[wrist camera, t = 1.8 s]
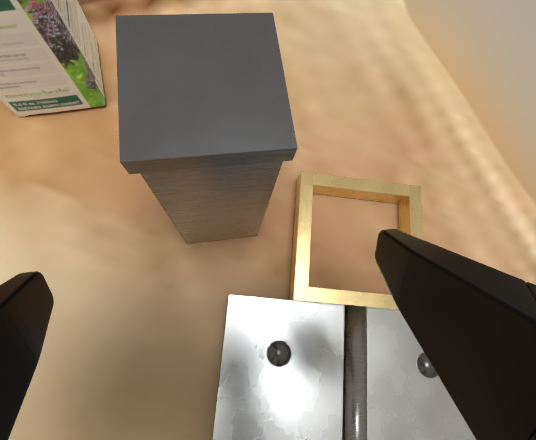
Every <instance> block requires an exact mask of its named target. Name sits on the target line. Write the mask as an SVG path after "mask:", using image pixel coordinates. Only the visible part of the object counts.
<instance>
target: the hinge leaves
mask: <svg viewBox="0 0 536 440" xmlns="http://www.w3.org/2000/svg"><path fill="white" fill-rule="evenodd" d="M313 194H321V195H329V196H338V197H346V198H355V199H363V200H372V201H380V202H388V203H397V204H398V221H399V231H402V232H404V233H407V234H409V235H412V236H414V237H417V238H419V239H422V240H423V227H422V207H421V187H420V186H413V185H405V184H397V183H389V182H381V181H373V180H365V179H357V178H348V177H340V176H332V175H324V174H316V173H308V172H301V173H300V175H299V177H298V179H297V186H296V202H295V218H294V233H293V249H292V265H291V281H290V296H289V300H282V299H271V298H260V297H249V296H238V295H229V300H228V309H227V317H226V326H225V335H224V344H223V353H222V361H221V370H220V379H219V388H218V397H217V405H216V414H215V423H214V432H213V440H342V418H343V362H344V306H346V309H345V368H344V427H343V440H476V439H475V437H474V435H473V434H472V432H471V430H470V429H469V427H468V425H467V423H466V422H465V420H464V418H463V417H462V415H461V413H460V412H459V410H458V408H457V407H456V405H455V403H454V402H453V400H452V398H451V397H450V395H449V393H448V392H447V390H446V388H445V387H444V385H443V383H442V381H441V380H440V378H439V376H438V375H437V373H436V371H435V370H434V368H433V366H432V365H431V363H430V361H429V360H428V358H427V356H426V355H425V353H424V351H423V350H422V348H421V346H420V345H419V343H418V341H417V340H416V338H415V336H414V334H413V333H412V331H411V329H410V328H409V326H408V324H407V323H406V321H405V319H404V318H403V316H402V314H401V313H400V311H399V309H398V307H397V306H396V304H395V302H394V300H393V297H392V295H388V294H377V293H366V292H356V291H345V290H335V289H324V288H314V287H308V279H309V259H310V238H311V217H312V197H313Z"/></svg>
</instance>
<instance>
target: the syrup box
mask: <svg viewBox="0 0 536 440" xmlns="http://www.w3.org/2000/svg"><path fill="white" fill-rule="evenodd" d="M0 101H1V102H2V103H3V104H4V105H6V106H7V107H8V108H9V109H10V110H11V111H12V112H13V113H14V114H15V115H17V116H19V117H24V116H29V115H33V114H40V113H52V112H60V111H68V110H76V109H84V108H91V107H98V106H104V105H105V96H104V90H103V83H102V76H101V69H100V61H99V53H98V45H97V40H96V38H95V35H94V33H93V31H92V29H91V27H90V25H89V23H88V21H87V19H86V17H85V15H84V13H83V11H82V9H81V7H80V5H79V3H78V1H77V0H0Z"/></svg>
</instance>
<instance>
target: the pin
mask: <svg viewBox="0 0 536 440" xmlns="http://www.w3.org/2000/svg"><path fill="white" fill-rule="evenodd" d="M116 44H117V77H118V109H119V141H120V163H121V164H122V165H123V167H124V168H125V169H126V171H127V172H128V173H129V174H138V173H140V174H141V175H142V177H143V178H144V180H145V181H146V183H147V184H148V186H149V187H150V189H151V190H152V192H153V193H154V195H155V196H156V198H157V199H158V201H159V202H160V204H161V205H162V207H163V208H164V210H165V211H166V213H167V214H168V216H169V217H170V219H171V220H172V222H173V223H174V225H175V226H176V228H177V229H178V231H179V232H180V234H181V235H182V237H183V238H184V240H185V242H186V243H187V244H193V243H201V242H210V241H218V240H227V239H235V238H244V237H252V236H257V234H258V231H259V228H260V226H261V223H262V220H263V217H264V214H265V211H266V208H267V205H268V203H269V200H270V197H271V194H272V191H273V188H274V185H275V182H276V179H277V177H278V174H279V171H280V168H281V165H282V162H283V161H291V160H293V158H294V155H295V153H296V150H297V143H296V137H295V132H294V126H293V121H292V115H291V110H290V104H289V99H288V93H287V88H286V82H285V77H284V71H283V66H282V60H281V55H280V49H279V44H278V38H277V33H276V27H275V22H274V16H273V13H237V14H183V15H130V16H116Z"/></svg>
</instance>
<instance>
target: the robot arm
mask: <svg viewBox="0 0 536 440" xmlns="http://www.w3.org/2000/svg"><path fill="white" fill-rule="evenodd" d="M375 259H376V262H377V264H378V267H379V269H380V271H381V273H382V275H383V278H384V280H385V282H386V284H387V286H388V289H389V291H390V293H391V295H392V297H393V300H394V302H395V304H396V306H397V307H398V309H399V311H400V313H401V314H402V316H403V318H404V319H405V321H406V323H407V324H408V326H409V328H410V329H411V331H412V333H413V334H414V336H415V338H416V340H417V341H418V343H419V345H420V346H421V348H422V350H423V351H424V353H425V355H426V356H427V358H428V360H429V361H430V363H431V365H432V366H433V368H434V370H435V371H436V373H437V375H438V376H439V378H440V380H441V381H442V383H443V385H444V387H445V388H446V390H447V392H448V393H449V395H450V397H451V398H452V400H453V402H454V403H455V405H456V407H457V408H458V410H459V412H460V413H461V415H462V417H463V418H464V420H465V422H466V423H467V425H468V427H469V429H470V430H471V432H472V434H473V435H474V437H475V439H476V440H536V285H534V284H531V283H529V282H526V283H525V281H524V280H521V279H519V278H516V277H514V276H511V275H509V274H506V273H504V272H501V271H499V270H496V269H494V268H491V267H489V266H486V265H484V264H481V263H479V262H476V261H474V260H471V259H469V258H466V257H464V256H461V255H459V254H457V253H454V252H452V251H449V250H447V249H444V248H442V247H439V246H437V245H434V244H432V243H429V242H427V241H424V240H422V239H419V238H417V237H414V236H412V235H409V234H407V233H404V232H402V231H399V230H397V229H387V230H382V231H380V233H379V235H378V240H377V246H376V251H375ZM53 302H54V301H53V295H52V293H51V291H50V289H49V287H48V285H47V283H46V281H45V278H44V276H43V275H42V274H41V273H40V272H37V271H35V272H27V273H21V274H18V275H16V276H15V277H13V278H11V279H10V280H8V281H7V282H5V283H3V284H2V285H0V440H8V439H9V436H10V433H11V431H12V428H13V426H14V423H15V420H16V418H17V415H18V413H19V410H20V408H21V405H22V402H23V400H24V397H25V395H26V392H27V390H28V387H29V384H30V382H31V379H32V377H33V374H34V372H35V369H36V366H37V363H38V360H39V357H40V354H41V350H42V346H43V342H44V339H45V335H46V331H47V327H48V323H49V319H50V316H51V312H52V308H53Z"/></svg>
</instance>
